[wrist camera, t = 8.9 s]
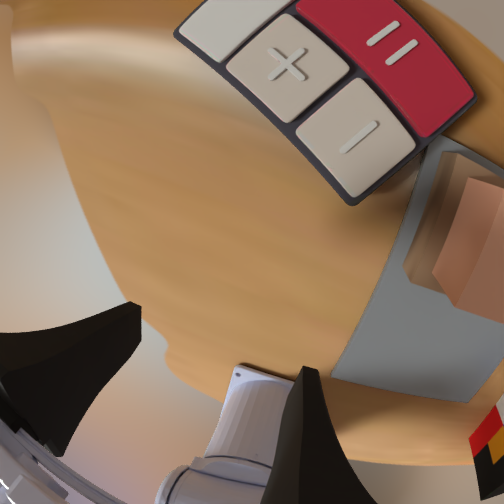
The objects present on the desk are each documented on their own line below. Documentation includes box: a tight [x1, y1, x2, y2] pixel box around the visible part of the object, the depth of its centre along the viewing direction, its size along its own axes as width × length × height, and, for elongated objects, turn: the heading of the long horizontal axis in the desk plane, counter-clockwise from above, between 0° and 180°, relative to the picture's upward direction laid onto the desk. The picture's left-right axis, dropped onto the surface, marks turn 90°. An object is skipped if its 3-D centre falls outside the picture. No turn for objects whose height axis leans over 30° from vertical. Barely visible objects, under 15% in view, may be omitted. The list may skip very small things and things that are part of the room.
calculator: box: [173, 0, 477, 206], centre depth 13 cm, size 11×4×15 cm
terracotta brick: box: [432, 177, 504, 324], centre depth 11 cm, size 6×4×4 cm, turn 167°
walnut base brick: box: [402, 152, 504, 295], centre depth 14 cm, size 8×6×2 cm
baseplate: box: [331, 135, 504, 403], centre depth 17 cm, size 20×16×1 cm
